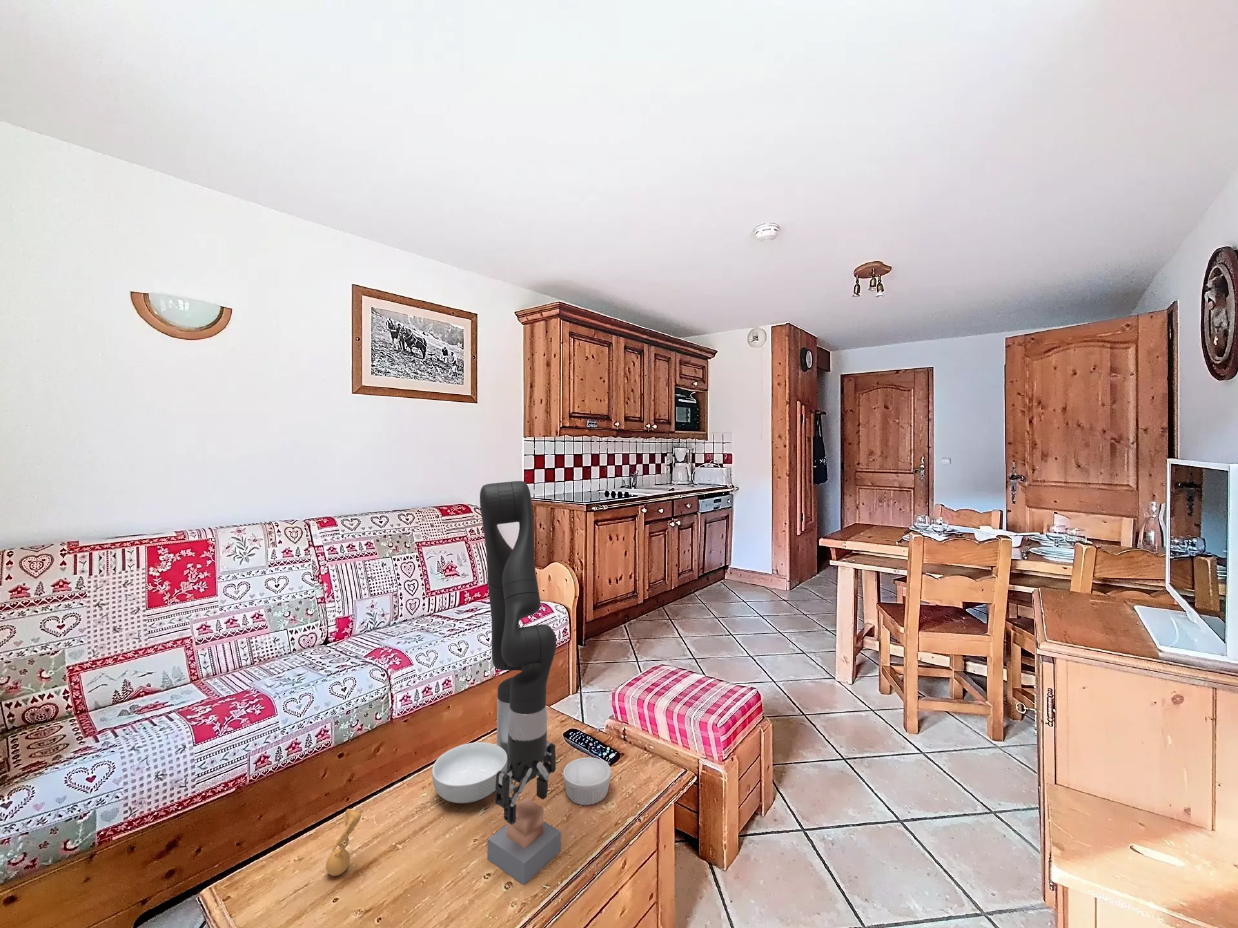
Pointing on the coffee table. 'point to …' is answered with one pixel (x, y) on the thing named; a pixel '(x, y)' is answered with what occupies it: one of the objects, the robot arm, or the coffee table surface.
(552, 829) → the slate base
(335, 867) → the figurine
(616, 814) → the coffee table surface
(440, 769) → the cereal bowl
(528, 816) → the terracotta cube
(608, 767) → the ramekin
